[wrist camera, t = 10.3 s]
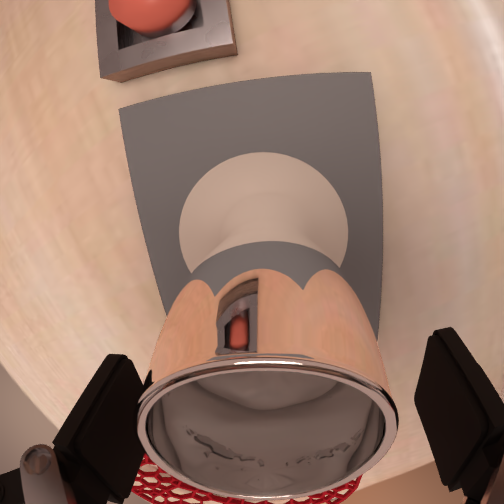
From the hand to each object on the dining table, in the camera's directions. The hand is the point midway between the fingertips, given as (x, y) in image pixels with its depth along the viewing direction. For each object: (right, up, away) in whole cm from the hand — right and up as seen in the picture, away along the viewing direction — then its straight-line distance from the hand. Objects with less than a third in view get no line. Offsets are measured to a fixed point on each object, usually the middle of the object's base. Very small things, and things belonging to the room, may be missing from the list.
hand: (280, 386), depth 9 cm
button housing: (-6, +20, +7) cm, 22 cm away
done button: (-6, +19, +5) cm, 21 cm away
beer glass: (0, +5, +12) cm, 13 cm away
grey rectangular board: (0, +5, +13) cm, 14 cm away
